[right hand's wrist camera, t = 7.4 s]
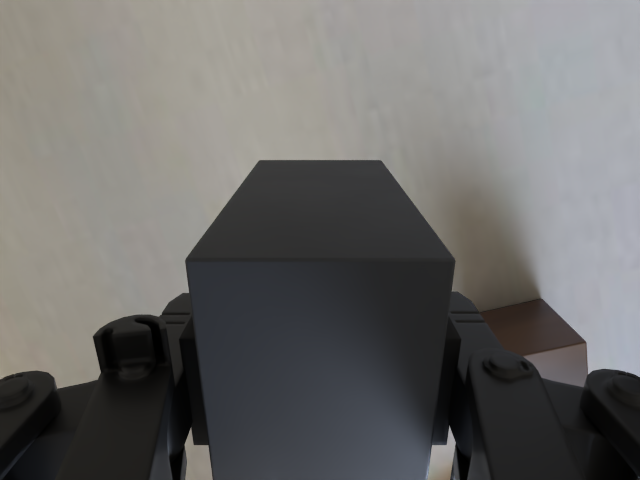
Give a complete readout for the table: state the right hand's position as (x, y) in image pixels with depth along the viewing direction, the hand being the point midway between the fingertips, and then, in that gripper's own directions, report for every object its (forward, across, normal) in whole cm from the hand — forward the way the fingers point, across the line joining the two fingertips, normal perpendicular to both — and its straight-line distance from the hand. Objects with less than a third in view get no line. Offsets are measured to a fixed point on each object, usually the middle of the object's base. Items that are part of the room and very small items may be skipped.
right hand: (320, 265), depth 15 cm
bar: (0, 0, -8) cm, 8 cm away
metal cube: (+11, +13, -11) cm, 20 cm away
